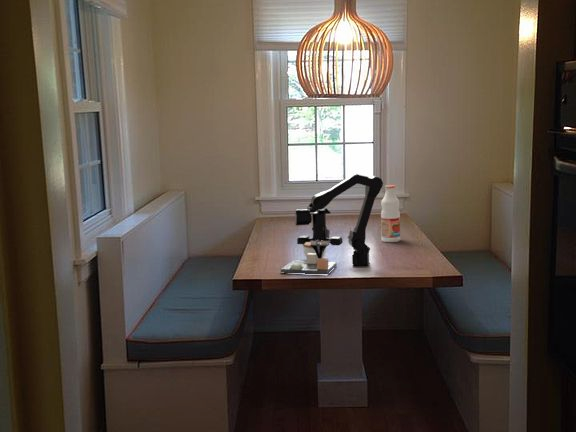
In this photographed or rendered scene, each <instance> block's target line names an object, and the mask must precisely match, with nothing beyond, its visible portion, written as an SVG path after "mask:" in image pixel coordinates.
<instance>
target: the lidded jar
mask: <svg viewBox="0 0 576 432" xmlns="http://www.w3.org/2000/svg"><path fill="white" fill-rule="evenodd" d="M310 245H311V242H306V243H305V244H302V249H303V255H304V256H305V259H307V254H308V253H316V252H315V250H314V249H313V247H311V246H310ZM320 245H321V243H320ZM326 253H327V247H326V248H325V250H324V253H323V256H322V258H325V256H326Z"/></svg>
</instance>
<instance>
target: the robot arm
mask: <svg viewBox="0 0 576 432" xmlns="http://www.w3.org/2000/svg"><path fill="white" fill-rule="evenodd" d="M357 184H358V185H362V186H365V189H364V190H365V192H364V194H365V195H364V197H363V202H362V205H361V208H360V211H359V215H358V217H357V221H356V225H355V227H354V228H353V229H349V233H348V236H347V239H348V240H347V241H348V244H349V245H350V246H351V247H352V249H353V250H354V251H353V254H352V256H351V259H352V260H351V261H352V263H351V264H352V267H354V266H368V265H369V264H371V262H370V250H371V248H370V247H369V246H368V245H367V244H366V238H367V236H366V232H367V231H366V229H367V226H368V223H369V219H370V216H371V213H372V209H373V207H374V203H375V201H376V198H377V197H378V196H379V194H380V192H381V190H382V188H383V186H384V182H383V179H382V178H381V177H378V176H376V175H370V176H365V175H361V174H358V173H352V174H351V175H350V176H348V177H347V178H345V179H343V180H342V181H341V182H339V183H337V184H335V185H334V186H332V187H331V188H329V189H327V190H324V191H321V192H318V193H316V194H314V195H312V197H311V199H310V203H309V205H308V206H307V207H306V209H299V208H298V209H295V210H294V211H295V212H294V224H295V226H296V227H299V226H309V225H310V224H311V223H312V227H311V230H312V237H310V235H300V236H299V237H297V239H296V241H297V245H303V244H305V243H306V242H311V245H310V246H311V247H313V249H314V250H315V252H316V254H317V257H318V259H319V258H322V256H323V253H324V250H325V248H326V249H327V247H328V246H329V245H331V246H340V245H341V244H343V237H342V236H332V237H330V231H331V230H329V229H328V226H327V215H328V214H331V211H330V210H329V209H328V208H327V206H328V205H329V204H330V203H331V202H332V201H333V200H334V199H335V198H337V197H338V196H339V195H341V194H343V193H344V192H346V191H348V190H349V189H351V188H352V187H354V186H356V185H357ZM320 243H321V245H320ZM369 266H370V265H369ZM369 266H368V267H369Z"/></svg>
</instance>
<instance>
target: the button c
mask: <svg viewBox="0 0 576 432" xmlns="http://www.w3.org/2000/svg"><path fill="white" fill-rule="evenodd" d="M291 269H298V270H301V269H302V264H292V265H291Z"/></svg>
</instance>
